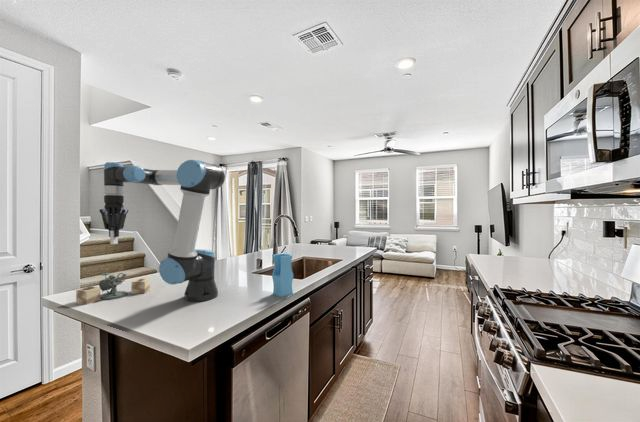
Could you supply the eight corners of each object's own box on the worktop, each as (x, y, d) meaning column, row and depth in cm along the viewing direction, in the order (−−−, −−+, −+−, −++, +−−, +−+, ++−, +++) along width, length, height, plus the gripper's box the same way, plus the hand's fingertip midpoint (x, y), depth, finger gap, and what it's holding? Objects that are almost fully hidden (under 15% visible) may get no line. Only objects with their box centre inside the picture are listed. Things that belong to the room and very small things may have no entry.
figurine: (115, 300, 127) (116, 274, 127) (93, 299, 127) (93, 274, 127) (131, 293, 138) (132, 269, 138) (110, 292, 138) (110, 269, 138)
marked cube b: (100, 300, 127) (100, 286, 127) (86, 304, 121) (86, 290, 121) (90, 299, 128) (90, 285, 128) (76, 303, 123) (76, 289, 122)
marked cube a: (149, 290, 143) (149, 278, 143) (144, 293, 138) (144, 281, 138) (136, 290, 142) (137, 278, 142) (131, 294, 136) (131, 281, 136)
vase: (271, 293, 141) (272, 254, 140) (284, 290, 146) (284, 253, 146) (280, 297, 135) (280, 256, 134) (293, 294, 140) (293, 255, 140)
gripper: (132, 195, 135) (132, 243, 135) (107, 195, 136) (107, 242, 136) (120, 194, 128) (120, 245, 128) (94, 194, 129) (94, 244, 129)
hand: (114, 243), depth 132 cm, fingers closed
